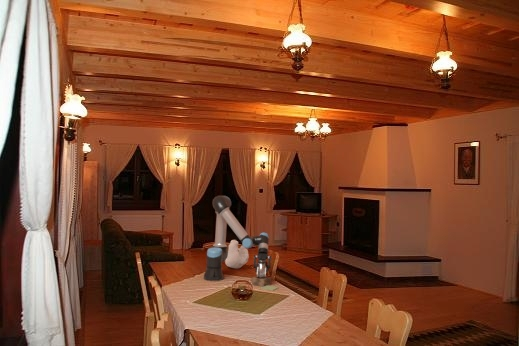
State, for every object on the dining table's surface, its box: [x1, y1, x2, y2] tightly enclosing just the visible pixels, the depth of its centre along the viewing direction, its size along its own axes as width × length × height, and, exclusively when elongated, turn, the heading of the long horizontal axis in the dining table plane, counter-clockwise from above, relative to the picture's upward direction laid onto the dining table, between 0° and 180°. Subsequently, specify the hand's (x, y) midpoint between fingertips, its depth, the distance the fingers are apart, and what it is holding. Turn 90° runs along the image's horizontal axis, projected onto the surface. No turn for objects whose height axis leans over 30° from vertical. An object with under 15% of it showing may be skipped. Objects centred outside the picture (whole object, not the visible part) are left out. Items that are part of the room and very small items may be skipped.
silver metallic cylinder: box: [256, 259, 268, 279], centre depth 305 cm, size 7×7×18 cm
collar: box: [250, 275, 272, 287], centre depth 305 cm, size 11×11×5 cm
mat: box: [260, 285, 280, 291], centre depth 293 cm, size 10×10×1 cm
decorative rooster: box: [224, 239, 250, 270], centre depth 365 cm, size 25×16×25 cm, turn 35°
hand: (261, 275), depth 301 cm, fingers closed on silver metallic cylinder, 5 cm apart
